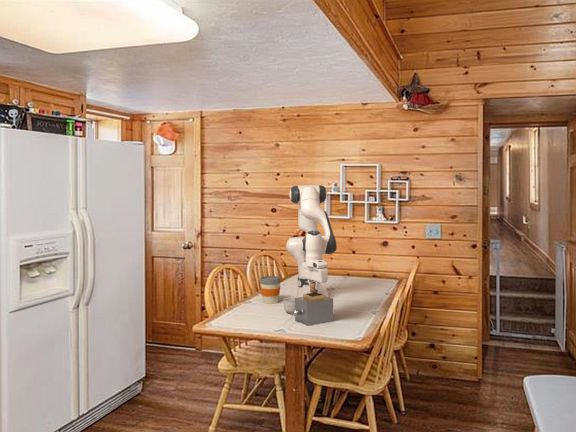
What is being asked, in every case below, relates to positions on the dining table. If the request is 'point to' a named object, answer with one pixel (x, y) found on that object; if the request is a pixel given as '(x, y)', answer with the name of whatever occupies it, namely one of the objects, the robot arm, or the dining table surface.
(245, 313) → the dining table surface
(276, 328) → the dining table surface
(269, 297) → the reusable coffee cup
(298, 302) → the box
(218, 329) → the dining table surface
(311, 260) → the robot arm
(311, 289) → the bead walnut
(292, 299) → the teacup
